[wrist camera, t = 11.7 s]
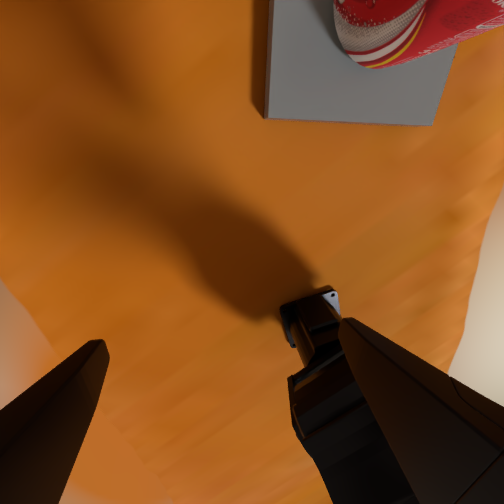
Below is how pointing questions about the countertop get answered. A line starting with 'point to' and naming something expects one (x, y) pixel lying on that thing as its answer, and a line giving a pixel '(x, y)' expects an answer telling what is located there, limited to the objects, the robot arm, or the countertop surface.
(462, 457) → the robot arm
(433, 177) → the countertop surface
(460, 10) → the soda can
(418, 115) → the slate board
